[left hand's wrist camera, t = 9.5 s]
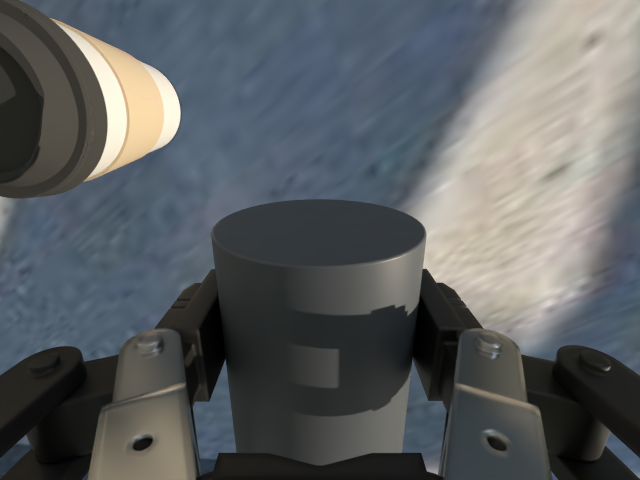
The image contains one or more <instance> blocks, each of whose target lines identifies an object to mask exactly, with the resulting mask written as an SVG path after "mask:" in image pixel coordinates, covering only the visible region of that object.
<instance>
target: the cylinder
mask: <svg viewBox="0 0 640 480" xmlns="http://www.w3.org/2000/svg"><path fill="white" fill-rule="evenodd" d="M426 235H427V234H426V231H425V228H424V226H423V225H422V224H421V223H420V222H419V221H418V220H417V219H415V218H413V217H412V216H410V215H408V214H406V213H403V212H400V211H398V210H395V209H391V208H388V207H384V206H380V205H375V204H370V203H363V202H355V201H345V200H321V199H317V200H293V201H283V202H275V203H269V204H263V205H258V206H254V207H250V208H247V209H243V210H240V211H238V212H235V213H233V214H230V215H228V216H226V217H225V218H223V219H221V220H220V221H219V222H218V223H217V224H216V225H215V226H214V227H213V230H212V233H211V237H212V245H213V254H214V262H215V271H216V280H217V288H218V297H219V305H220V314H221V322H222V331H223V340H224V348H225V357H226V365H227V374H228V382H229V391H230V399H231V408H232V417H233V425H234V434H235V442H236V451H237V453H271V454H275V455H278V456H282V457H286V458H290V459H294V460H298V461H301V462H305V463H309V464H313V465H318V466H322V465H327V464H331V463H335V462H339V461H342V460H346V459H350V458H354V457H358V456H362V455H365V454H369V453H402V445H403V436H404V427H405V419H406V410H407V401H408V392H409V384H410V375H411V366H412V357H413V349H414V340H415V331H416V322H417V314H418V305H419V296H420V287H421V279H422V270H423V261H424V252H425V244H426Z"/></svg>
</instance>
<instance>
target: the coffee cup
mask: <svg viewBox="0 0 640 480" xmlns="http://www.w3.org/2000/svg"><path fill="white" fill-rule="evenodd" d="M179 122H180V105H179V100H178V97H177V94H176V92H175V90H174V88H173V86H172V85H171V83H170V82H169V81H168V80H167V78H166V77H165V76H164V75H163V74H162V73H160V72H159V71H158V70H156V69H155V68H153V67H151V66H149V65H147V64H145V63H142V62H140V61H138V60H136V59H135V58H134V57H132V56H131V55H129V54H127V53H126V52H124V51H122V50H119V49H117V48H115V47H113V46H111V45H109V44H107V43H105V42H102V41H100V40H98V39H96V38H94V37H92V36H90V35H87V34H85V33H83V32H81V31H79V30H77V29H75V28H73V27H70V26H68V25H66V24H64V23H62V22H60V21H57V20H54V19H51V18H49V17H47V16H46V15H44V14H43V13H41V12H40V11H38V10H37V9H35V8H33V7H31V6H30V5H28V4H26V3H24V2H21V1H19V0H0V196H2V197H8V198H33V197H38V196H50V195H56V194H60V193H63V192H66V191H68V190H70V189H72V188H74V187H76V186H77V185H79V184H80V183H82V182H85V181H88V180H92V179H94V178H96V177H99V176H101V175H103V174H106V173H108V172H110V171H112V170H115V169H117V168H119V167H121V166H124V165H126V164H128V163H130V162H133V161H135V160H137V159H139V158H141V157H143V156H144V155H146V154H147V153H149V152H151V151H154V150H156V149H159V148H161V147H163V146H164V145H166V144H167V143H168V142H169V141H170V140H171V139H172V138H173V137H174V135H175V133H176V131H177V129H178V126H179Z"/></svg>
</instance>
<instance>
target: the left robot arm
mask: <svg viewBox="0 0 640 480" xmlns="http://www.w3.org/2000/svg"><path fill="white" fill-rule="evenodd" d="M412 358H413V361H414V363H415V366H416V369H417V371H418V374H419V377H420V379H421V382H422V385H423V387H424V390H425V393H426V395H427V398H428V401H443V403H444V406H445V408H446V410H447V413H446V419H445V426H444V434H443V441H442V449H441V456H440V464H439V471H438V475H437V474H434V473H431V472H427V471H426V468H425V464H424V461H423V457H422V454H421V453H369V454H365V455H362V456H358V457H354V458H350V459H346V460H342V461H339V462H335V463H331V464H327V465H322V466H318V465H313V464H309V463H305V462H301V461H298V460H294V459H290V458H286V457H282V456H278V455H275V454H271V453H219V454H218V457H217V461H216V464H215V468H214V471H213V472H209V473H206V474H203V475H202V471H201V464H200V456H199V449H198V441H197V434H196V426H195V419H194V413H193V405H194V403H195V401H209V400H210V398H211V395H212V393H213V390H214V387H215V385H216V382H217V380H218V377H219V374H220V372H221V369H222V366H223V364H224V361H225V359H226V357H225V348H224V340H223V331H222V322H221V314H220V305H219V297H218V288H217V280H216V271H215V269H212V270H211V271H210V272H209V273H208V275H207V276H206V278H205V279H204V281H203V282H202V283H195V284H193V285H192V286H190V287H189V288H187V289H185V290H184V291H183V292H182V293H181V295H180V296H179V297H178V299H177V301H175V302H174V304H173V305H172V306H171V309H169V310H168V312H167V313H166V314H165V316H164V317H163V318H162V319H161V321H160V322H159V323H158V325H157V326H156V327H155V329H152V330H148V331H145V332H142V333H140V334H137V335H135V336H134V337H132V338H130V339H129V340H128V341H127V342H125V343H124V344H123V346H122V347H121V349H120V352H119V354H118V355H115V356H111V357H106V358H101V359H96V360H91V361H86V362H84V360H83V357H82V353H81V351H80V350H79V349H78V348H75V347H71V346H62V347H55V348H51V349H47V350H44V351H41V352H38V353H36V354H34V355H31V356H29V357H28V358H26V359H24V360H22V361H21V362H19V363H18V364H16V365H15V366H13V367H12V368H11V369H9V370H8V371H6V372H5V373H3V374H2V375H0V457H2V456H3V455H4V454H5V453H6V452H7V451H8V450H9V449H10V448H11V447H13V446H14V445H15V444H16V443H17V442H18V441H19V440H20V439H21V438H22V437H24V436H25V435H27V438H28V440H29V442H30V445H31V447H32V449H31V450H30V451H29V452H28V453H27V454H26V455H25V456H24V457H23V458H22V459H21V460H19V461H18V462H17V463H16V464H15V465H14V466H13V467H12V468H11V469H10V470H9V471H8V472H7V473H6V474H5V475H4V476H3V477H2V478H1V479H0V480H82V478H83V477H84V476H85V475H86V473H87V472H88V471H89V474H88V480H552V474H551V471H552V472H553V473H554V475H555V476H556V477H557V478H558V480H640V479H639V478H638V477H637V476H636V475H635V474H634V473H633V472H632V471H631V470H630V469H629V468H628V467H627V466H626V465H625V464H624V463H623V462H622V461H621V460H619V459H618V458H617V457H616V456H615V455H614V454H613V453H612V452H611V451H610V450H609V449H608V448H607V447H606V446H605V445H606V442H607V440H608V437H609V435H610V432H612V433H613V434H614V435H615V436H616V437H617V438H619V439H620V440H621V441H622V442H623V443H624V444H625V445H626V446H627V447H628V448H630V449H631V450H632V451H633V452H634V453H635V454H636V455H637V456H638V457H639V458H640V375H638V374H637V373H635V372H634V371H632V370H631V369H629V368H628V367H627V366H625V365H624V364H622V363H621V362H619V361H618V360H616V359H615V358H613V357H611V356H609V355H607V354H605V353H603V352H600V351H598V350H595V349H592V348H588V347H584V346H576V345H568V346H564V347H561V348H560V349H559V350H558V351H557V355H556V358H555V361H550V360H545V359H540V358H535V357H530V356H525V355H521V352H520V349H519V347H518V346H517V344H516V343H515V342H513V341H512V340H511V339H510V338H508V337H506V336H505V335H503V334H500V333H498V332H495V331H492V330H488V329H483V327H482V326H481V325H480V323H479V322H478V321H477V320H476V318H475V317H474V316H473V314H472V313H471V312H470V310H469V309H468V308H466V305H465V304H464V302H463V301H461V298H460V297H459V296H458V294H457V293H456V292H455V290H453V289H452V288H450V287H448V286H447V285H445V284H444V283H436V282H435V280H434V279H433V277H432V276H431V274H430V273H429V272H428V270H427V269H423V270H422V279H421V287H420V296H419V305H418V314H417V322H416V331H415V340H414V349H413V357H412Z"/></svg>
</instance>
